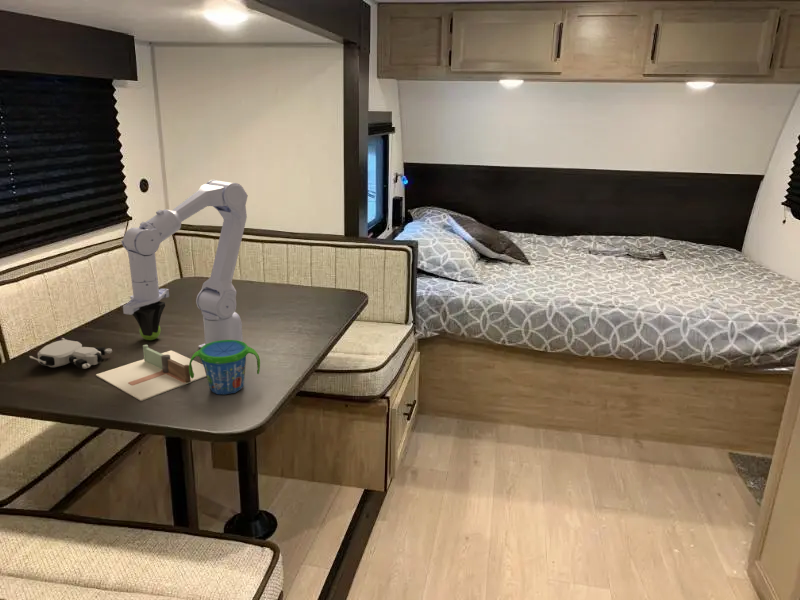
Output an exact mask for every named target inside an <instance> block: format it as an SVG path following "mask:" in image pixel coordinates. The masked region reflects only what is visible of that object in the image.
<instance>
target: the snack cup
mask: <svg viewBox="0 0 800 600" xmlns="http://www.w3.org/2000/svg"><path fill="white" fill-rule="evenodd" d="M248 354H251V355H254V357H255V358H256V365H257V367H256V368H257V370H256V373H257V375H259V373H260V369H261V360H260V356H259V354H258V352H257V351H256V350H255V349H254V348H252V347H250V346H248V344H247V343H245V342H244V341H243V342H241V341H237V340H220V341H215V342H211V343H208V344H206V345H204V346H203V347H201V348H200V349H198V350H197V351H195V352H194V353H193V354H192V356H191V358H190V359H191V360H190V363H189V373H190V376H191V378H194V373H193V370H192V365H191V363H192V361H193V360H194V359H195V358H196V357H199V358H200V362H201V364H203V366H204V369H205V373H206V376H207V377H206V381H207V384H208V387H209V389H210V391H211V392H212V393H214V394H216V395H219V396H220V395H221V396H222V395H224V396H225V395H230V394H235V393H237V392H239V391H240V390H241V389H242V388H243V387H244V383H245V373H246V372H245V371H246V363H247V355H248Z"/></svg>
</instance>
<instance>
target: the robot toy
mask: <svg viewBox="0 0 800 600" xmlns="http://www.w3.org/2000/svg"><path fill="white" fill-rule="evenodd" d="M112 352H113V350H112V348H105V346H102V347H91V346H90V347H89V346H83V344H82V343H81V342H80V341H75V340H69V339H66V338H64V337H62V338H61V340H56V341H53V342H51V343H49V344H47V345H45V346H44V347H42V348H41V349H40V350H39V351H37V358H36V357H34V356H32V355H29V359H31V360H35V361H37V362H38V363H39V364H41V366H47V367H49V368H53V369H55V368H58V367H61V366H62V367H63V366H65V365H68V364H70V363H71V364H74V365H75V366H76V368H79V369H80V370H81V369H82V370H83V369H84V370H86V369H88V368H90V367H91V366H95V365H98V364H99V363H101V362H102V361H103V356H106V354H111V353H112Z"/></svg>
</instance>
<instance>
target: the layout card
mask: <svg viewBox="0 0 800 600" xmlns="http://www.w3.org/2000/svg"><path fill="white" fill-rule="evenodd" d="M160 353H161V354H163V355H170V359H172V360H174V361H176V362H178V363H180V364H182V365H189V363H190V360H191V358H189V357H188V356H186V355H185V356H184V355H182V354H180V353H179V352H177V351H174V350H168V351H165V352H160ZM191 365H192V370H193V373H194V378H191V376H190V380H191V382H188V383H186V382H185V381H184V380H182V379H180V378H178V377H176V376H174V375H172V374H170V373H169V372H168V373H164V372H163V369H161V368H159V367H157V366H155V365H153V364H151V363H149V362H147V361H144V358H143V359H140V360H137V361H134V362H130V363H128V364H124V365H120V366H119V367H116V368H112V369H109V370H106V371H102V372H100V373H96V374H95V376H96V377H97V378H99V379H101V380H103V381H105V382H107V383H108V384H110V385H112V386H113V387H115V388H117V389H119V390H120V391H122V392H124V393H126V394H128V395H130V396H131V397H133V398H135V399H137V400H139V401H140V402H143V401H145V400H148V399H150V398H153V397H155V396H158V395H161V394H164V393H166V392H170V391H172V390H175V389H177V388H180V387H183V386H185V385H188V384H190V383H193V382H196V381H199V380H201V379H203V378H207V376H206V373H205V369H204V366H203V363H202V362H201V363H200V362H198V361H197V360H194V359H193V361H192V363H191Z"/></svg>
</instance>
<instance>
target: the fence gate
mask: <svg viewBox="0 0 800 600" xmlns="http://www.w3.org/2000/svg"><path fill="white" fill-rule="evenodd" d="M142 351H143V359H144V361H147V362H149V363H151V364H153V365H155V366H157V367H159V368H161V369H163V368H162V359H161V356H162V355H163V354H161V353H162V352H159V351H157V350H155V349H152V348H150V347H149V345H148V344H143V345H142Z"/></svg>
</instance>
